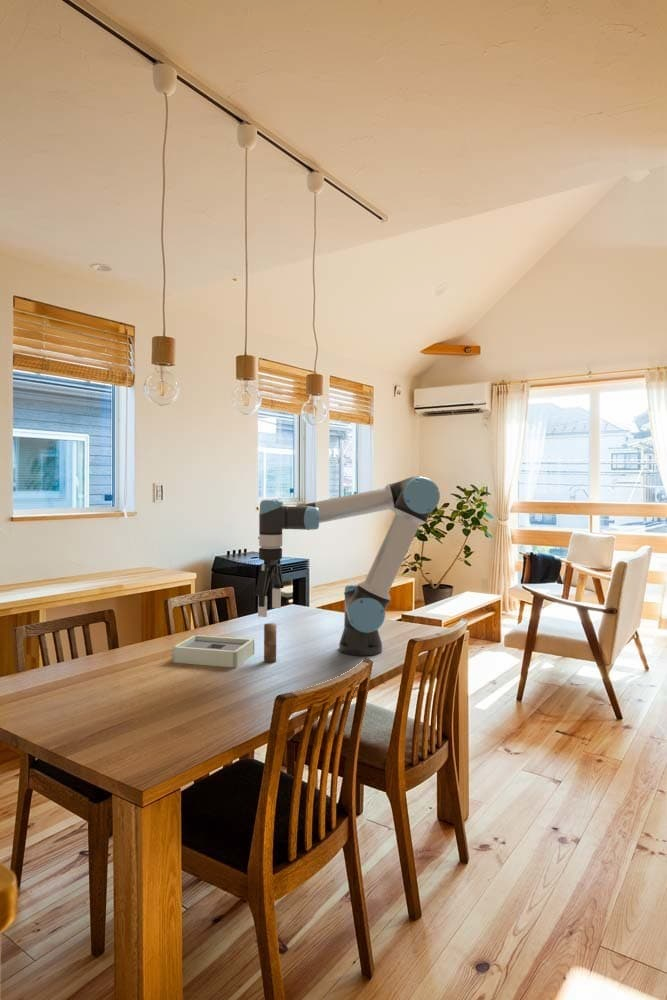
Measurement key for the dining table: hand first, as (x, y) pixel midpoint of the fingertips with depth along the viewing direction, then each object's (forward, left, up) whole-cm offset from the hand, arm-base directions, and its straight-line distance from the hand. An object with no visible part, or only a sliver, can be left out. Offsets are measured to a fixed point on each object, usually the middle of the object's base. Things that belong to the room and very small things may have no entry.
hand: (269, 612), depth 198 cm
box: (+19, +1, -16) cm, 25 cm away
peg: (0, 0, -16) cm, 16 cm away
